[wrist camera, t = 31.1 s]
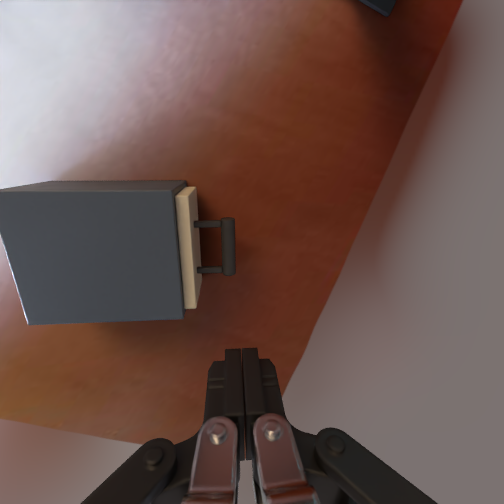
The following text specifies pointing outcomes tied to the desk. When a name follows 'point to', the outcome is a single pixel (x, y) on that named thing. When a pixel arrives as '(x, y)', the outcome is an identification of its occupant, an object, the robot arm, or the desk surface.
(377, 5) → the mat
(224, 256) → the drawer
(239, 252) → the desk surface
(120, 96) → the desk surface
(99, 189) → the cabinet
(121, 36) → the desk surface
